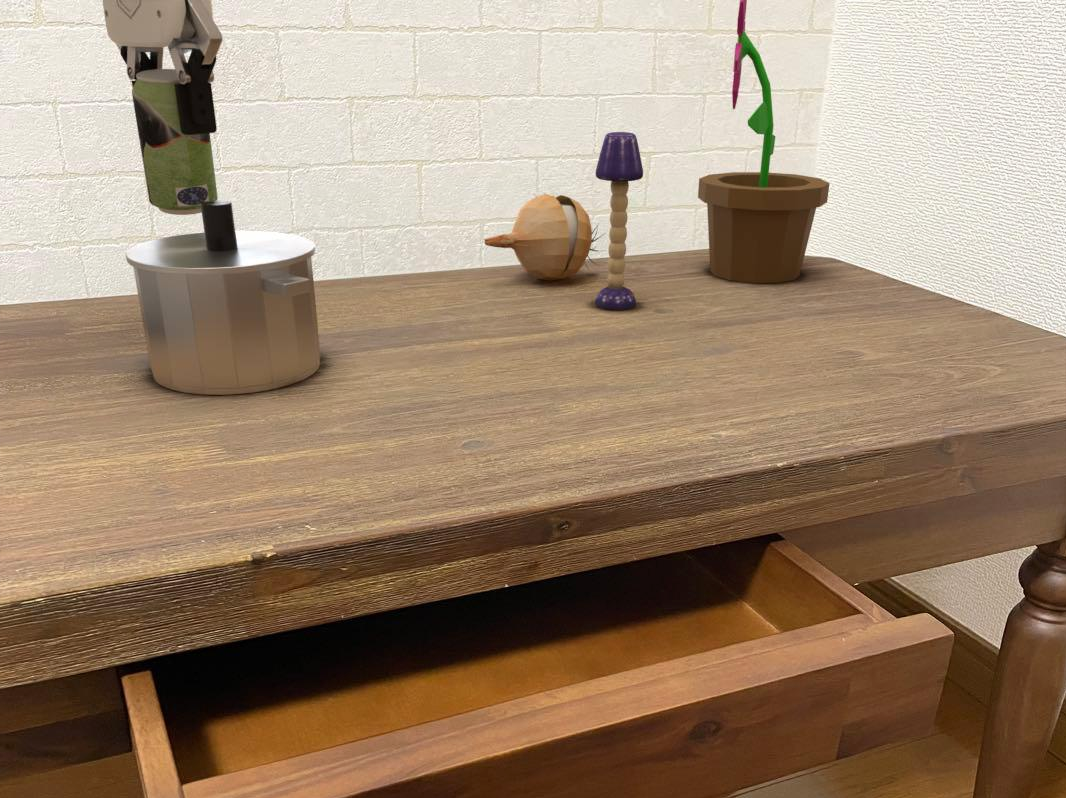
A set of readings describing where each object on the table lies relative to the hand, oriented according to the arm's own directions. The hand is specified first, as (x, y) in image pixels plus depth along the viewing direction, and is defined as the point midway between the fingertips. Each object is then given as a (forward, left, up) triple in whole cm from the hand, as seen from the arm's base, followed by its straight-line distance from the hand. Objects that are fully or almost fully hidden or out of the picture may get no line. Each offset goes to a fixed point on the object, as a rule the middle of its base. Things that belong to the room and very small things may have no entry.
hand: (177, 128), depth 92 cm
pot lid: (-6, -14, -8) cm, 17 cm away
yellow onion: (+36, -12, -18) cm, 42 cm away
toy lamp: (+32, -25, -18) cm, 44 cm away
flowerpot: (+55, -28, -18) cm, 64 cm away
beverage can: (0, 0, -7) cm, 7 cm away
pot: (-6, -14, -18) cm, 23 cm away
